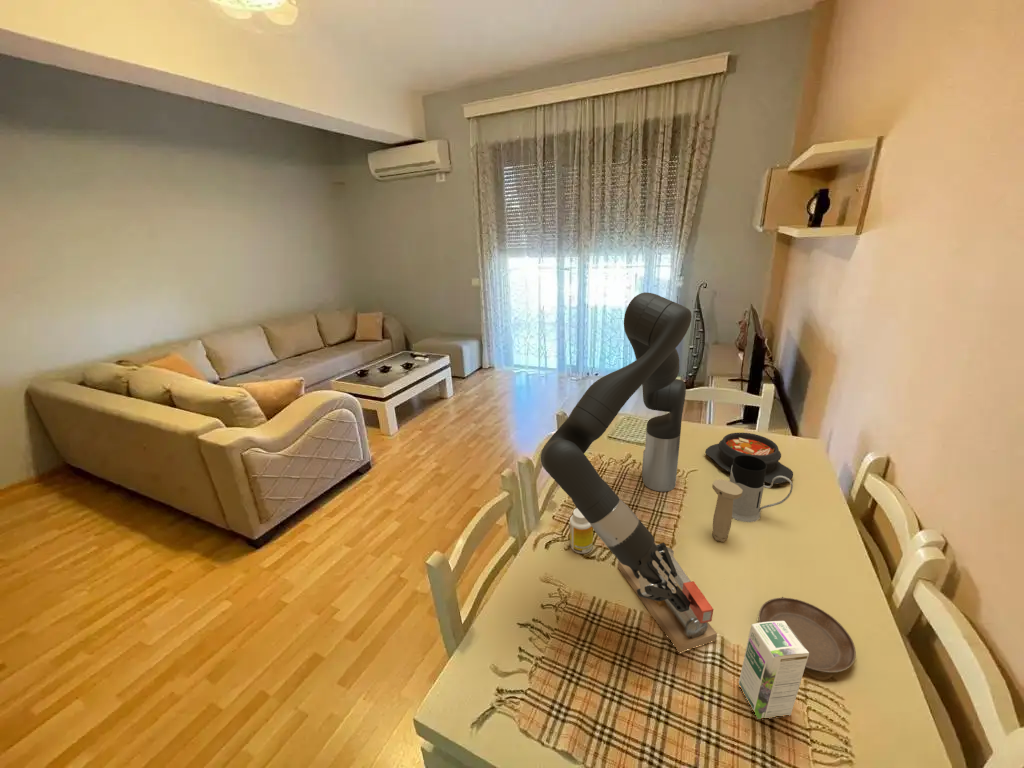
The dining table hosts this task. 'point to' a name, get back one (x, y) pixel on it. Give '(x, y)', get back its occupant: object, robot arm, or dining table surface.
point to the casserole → (750, 454)
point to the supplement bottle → (580, 533)
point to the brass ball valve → (686, 620)
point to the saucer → (813, 633)
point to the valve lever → (692, 593)
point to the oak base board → (668, 618)
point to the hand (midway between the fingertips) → (685, 607)
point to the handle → (724, 507)
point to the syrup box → (772, 668)
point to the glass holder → (750, 487)
